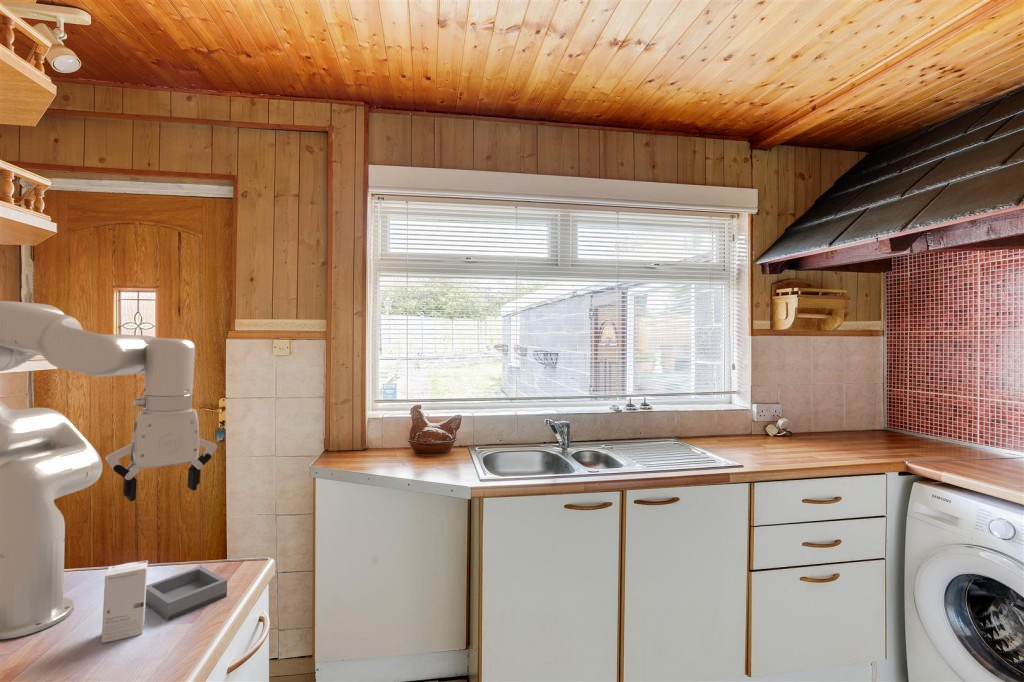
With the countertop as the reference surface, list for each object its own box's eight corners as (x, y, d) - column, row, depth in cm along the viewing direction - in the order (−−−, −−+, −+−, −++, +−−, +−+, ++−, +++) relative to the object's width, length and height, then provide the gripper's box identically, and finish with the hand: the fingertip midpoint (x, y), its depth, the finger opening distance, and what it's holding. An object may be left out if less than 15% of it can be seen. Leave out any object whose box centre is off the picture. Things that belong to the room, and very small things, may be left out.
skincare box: (100, 644, 86) (102, 576, 86) (104, 631, 89) (106, 566, 89) (144, 634, 89) (146, 568, 89) (146, 621, 93) (147, 558, 93)
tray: (142, 603, 99) (143, 586, 99) (200, 581, 108) (201, 566, 108) (167, 621, 93) (168, 603, 93) (226, 596, 102) (227, 580, 102)
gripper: (114, 409, 82) (108, 509, 82) (225, 403, 95) (220, 489, 95) (104, 403, 87) (99, 498, 87) (212, 398, 100) (207, 480, 100)
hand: (162, 493), depth 91 cm, fingers open, 9 cm apart
